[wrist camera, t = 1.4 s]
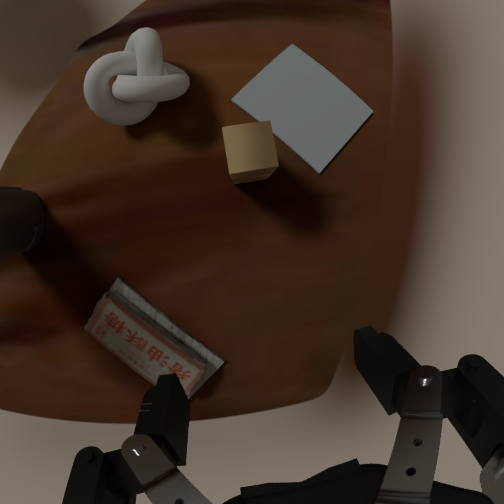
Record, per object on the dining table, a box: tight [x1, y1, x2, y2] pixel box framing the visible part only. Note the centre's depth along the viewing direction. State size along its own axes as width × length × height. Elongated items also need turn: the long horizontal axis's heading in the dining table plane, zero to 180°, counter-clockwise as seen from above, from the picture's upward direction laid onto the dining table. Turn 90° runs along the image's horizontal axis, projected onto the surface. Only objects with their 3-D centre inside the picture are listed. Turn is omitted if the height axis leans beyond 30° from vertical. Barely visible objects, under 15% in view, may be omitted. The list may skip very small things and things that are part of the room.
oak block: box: [222, 120, 279, 184], centre depth 27 cm, size 4×4×11 cm
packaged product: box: [84, 277, 224, 399], centre depth 34 cm, size 18×5×10 cm
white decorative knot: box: [84, 27, 190, 126], centre depth 26 cm, size 11×12×9 cm
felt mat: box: [231, 44, 373, 174], centre depth 32 cm, size 14×12×1 cm
